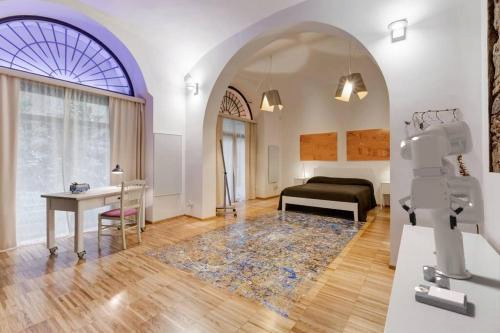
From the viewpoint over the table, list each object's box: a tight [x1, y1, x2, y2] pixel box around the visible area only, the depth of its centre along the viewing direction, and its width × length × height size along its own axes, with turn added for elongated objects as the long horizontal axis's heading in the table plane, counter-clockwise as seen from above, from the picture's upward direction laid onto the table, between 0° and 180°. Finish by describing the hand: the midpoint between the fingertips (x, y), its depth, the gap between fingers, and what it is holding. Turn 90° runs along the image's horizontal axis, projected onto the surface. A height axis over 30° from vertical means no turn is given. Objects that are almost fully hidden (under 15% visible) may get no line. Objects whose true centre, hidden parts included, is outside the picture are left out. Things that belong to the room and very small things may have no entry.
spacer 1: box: [422, 265, 437, 283], centre depth 94 cm, size 4×4×5 cm
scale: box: [414, 284, 468, 316], centre depth 79 cm, size 10×14×3 cm
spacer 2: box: [435, 275, 451, 290], centre depth 85 cm, size 4×4×5 cm
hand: (432, 226), depth 73 cm, fingers open, 9 cm apart
